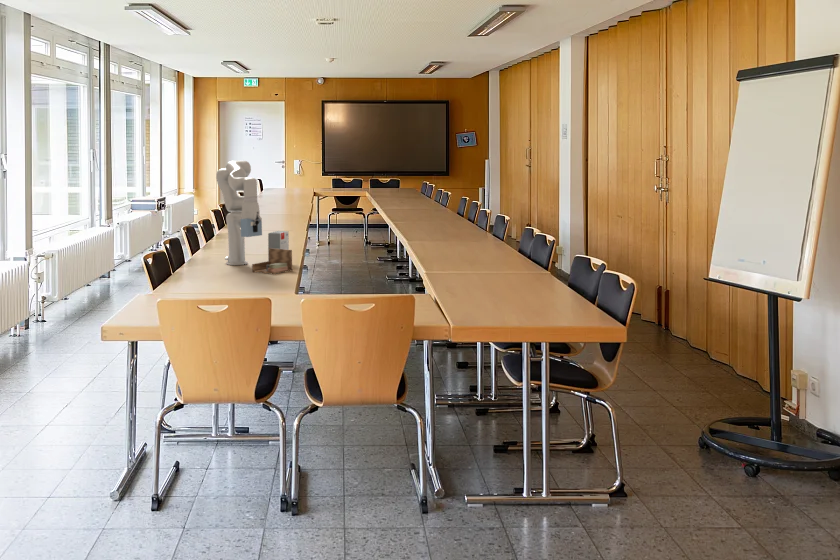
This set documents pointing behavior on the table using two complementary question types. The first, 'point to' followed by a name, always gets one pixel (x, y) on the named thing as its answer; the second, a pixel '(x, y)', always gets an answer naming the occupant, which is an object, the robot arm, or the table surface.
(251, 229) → the book
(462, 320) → the table surface
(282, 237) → the hard drive box
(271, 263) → the shelf
